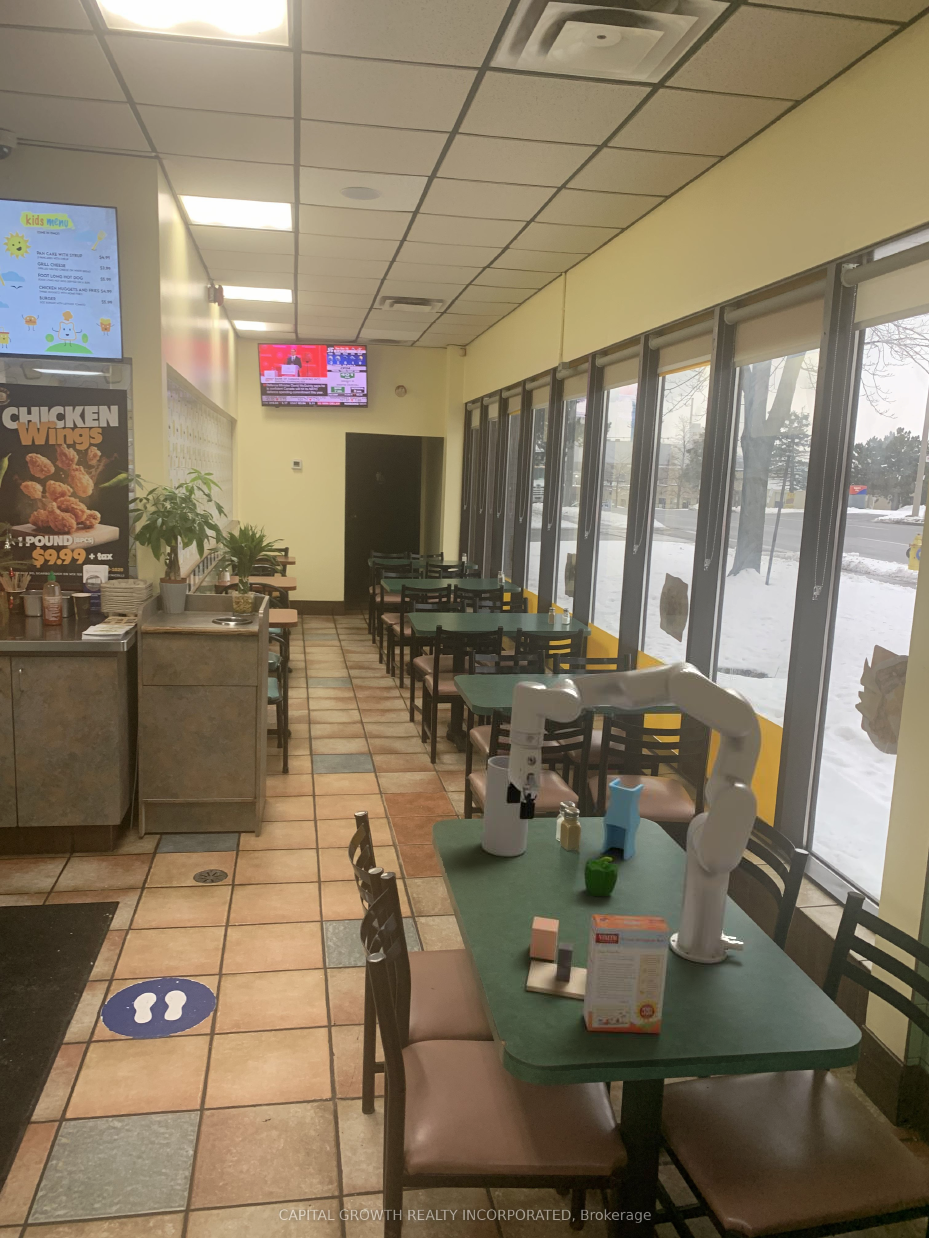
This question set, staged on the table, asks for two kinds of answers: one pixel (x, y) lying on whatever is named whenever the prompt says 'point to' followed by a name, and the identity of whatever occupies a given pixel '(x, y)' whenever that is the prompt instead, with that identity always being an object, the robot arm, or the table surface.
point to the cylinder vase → (502, 813)
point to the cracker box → (626, 973)
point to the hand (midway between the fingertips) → (519, 810)
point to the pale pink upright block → (544, 938)
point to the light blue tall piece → (622, 818)
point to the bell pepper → (600, 876)
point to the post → (558, 975)
